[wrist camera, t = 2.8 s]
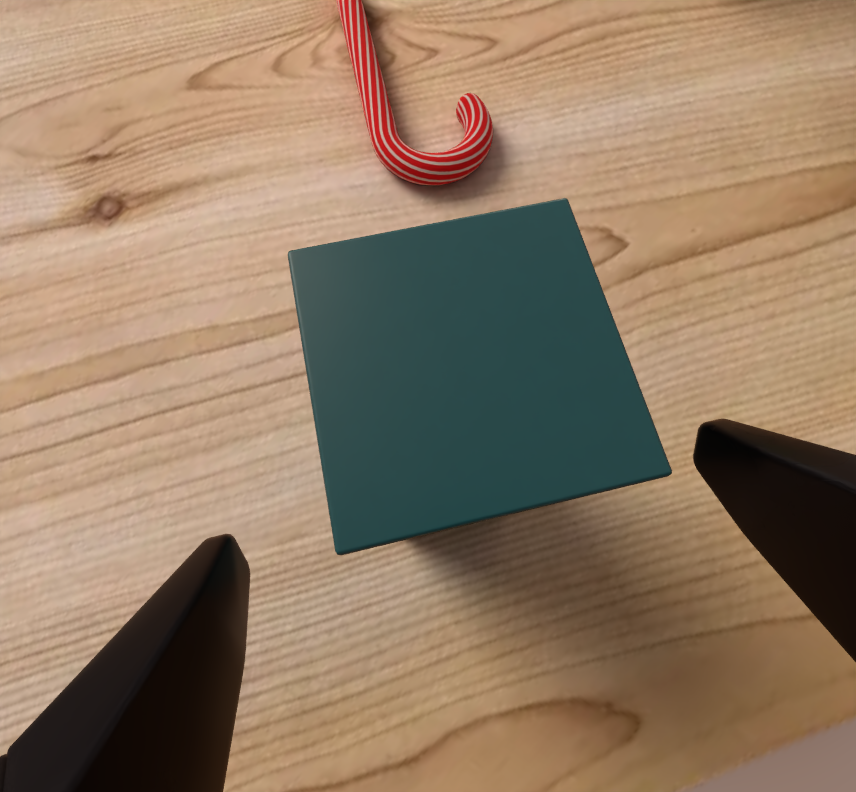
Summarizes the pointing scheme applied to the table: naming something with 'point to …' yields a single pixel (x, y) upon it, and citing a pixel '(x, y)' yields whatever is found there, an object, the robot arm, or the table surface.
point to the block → (465, 375)
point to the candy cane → (383, 125)
